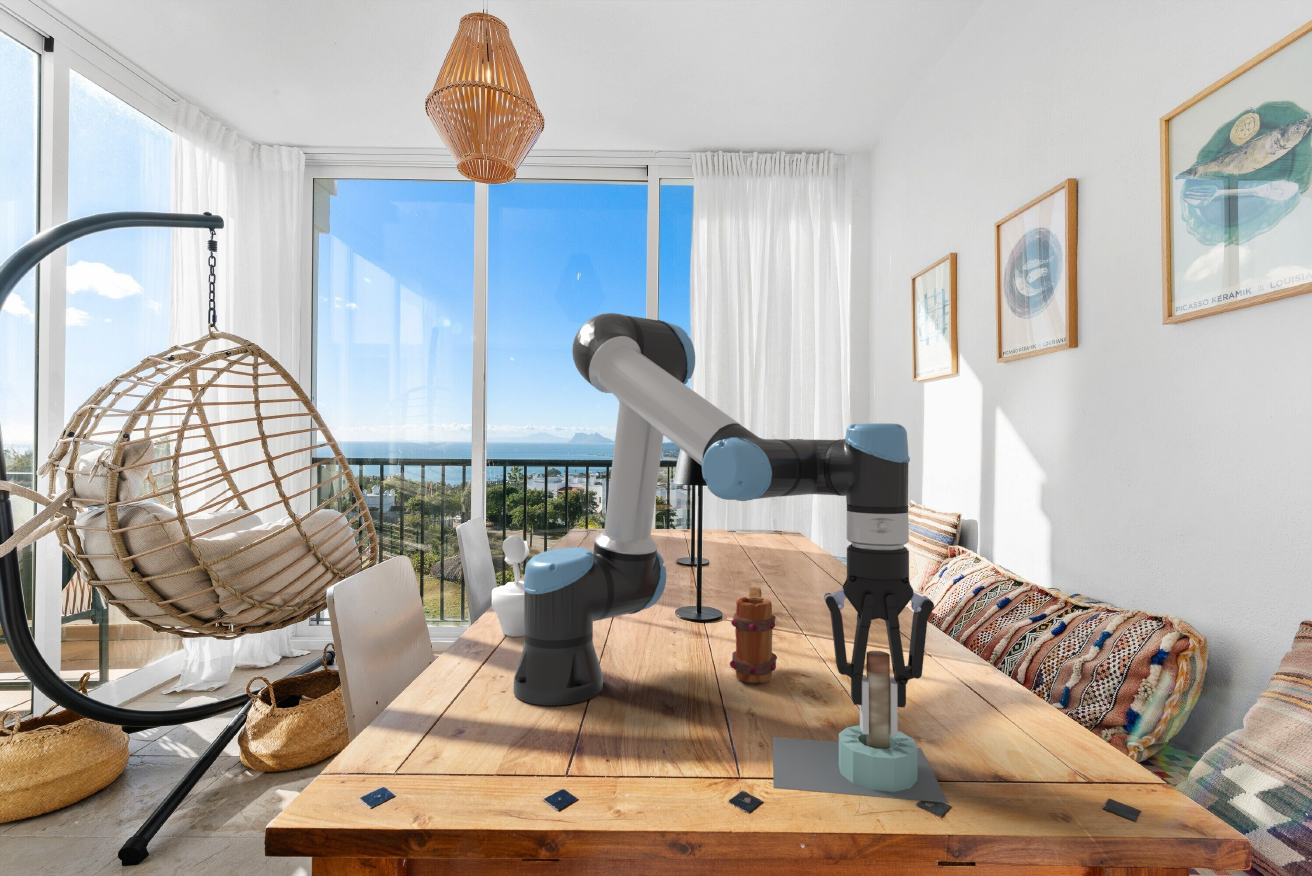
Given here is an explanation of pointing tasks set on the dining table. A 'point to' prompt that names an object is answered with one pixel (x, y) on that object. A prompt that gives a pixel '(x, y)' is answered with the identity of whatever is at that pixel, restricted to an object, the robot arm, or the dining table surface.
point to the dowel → (878, 699)
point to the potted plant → (512, 589)
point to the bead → (878, 761)
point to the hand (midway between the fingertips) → (878, 730)
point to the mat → (838, 772)
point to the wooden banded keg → (753, 638)
